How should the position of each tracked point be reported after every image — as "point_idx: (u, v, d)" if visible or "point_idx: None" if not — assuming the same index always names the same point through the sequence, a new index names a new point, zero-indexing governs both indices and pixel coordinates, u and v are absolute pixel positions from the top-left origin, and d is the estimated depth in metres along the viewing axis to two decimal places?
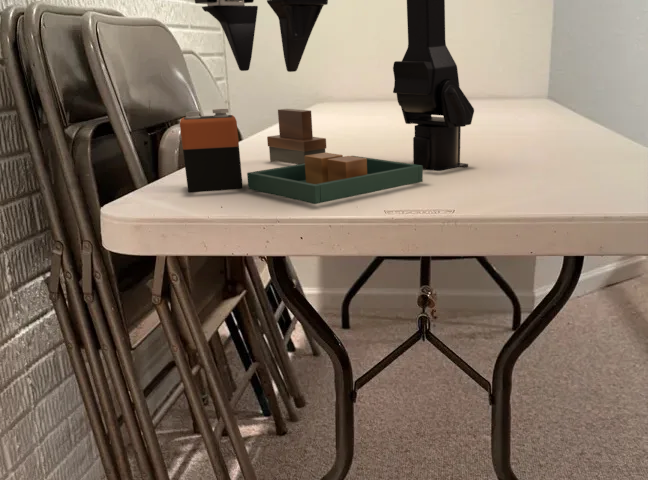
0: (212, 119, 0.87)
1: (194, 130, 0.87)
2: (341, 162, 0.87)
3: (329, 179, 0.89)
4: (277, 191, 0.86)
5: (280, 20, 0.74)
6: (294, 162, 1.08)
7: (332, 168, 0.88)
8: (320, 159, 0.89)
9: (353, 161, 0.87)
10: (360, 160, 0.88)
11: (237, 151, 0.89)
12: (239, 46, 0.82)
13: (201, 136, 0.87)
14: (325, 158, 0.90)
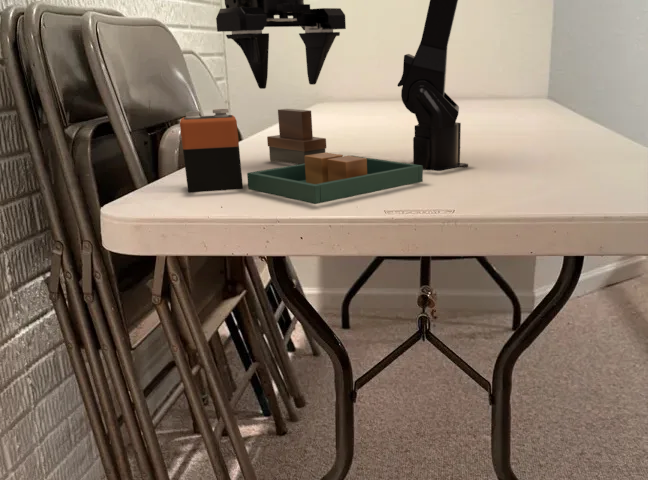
0: (212, 119, 0.87)
1: (194, 130, 0.87)
2: (341, 162, 0.87)
3: (329, 179, 0.89)
4: (277, 191, 0.86)
5: None
6: (294, 162, 1.08)
7: (332, 168, 0.88)
8: (320, 159, 0.89)
9: (353, 161, 0.87)
10: (360, 160, 0.88)
11: (237, 151, 0.89)
12: (309, 65, 1.04)
13: (201, 136, 0.87)
14: (325, 158, 0.90)
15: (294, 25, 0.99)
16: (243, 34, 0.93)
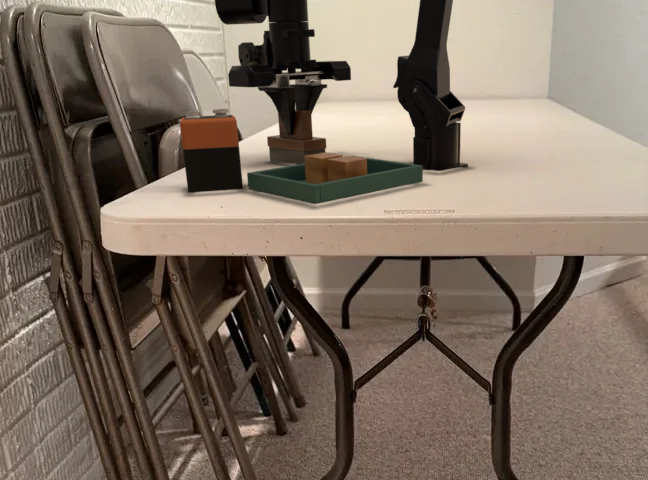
0: (212, 119, 0.87)
1: (194, 130, 0.87)
2: (341, 162, 0.87)
3: (329, 179, 0.89)
4: (277, 191, 0.86)
5: None
6: (294, 162, 1.08)
7: (332, 168, 0.88)
8: (320, 159, 0.89)
9: (353, 161, 0.87)
10: (360, 160, 0.88)
11: (237, 151, 0.89)
12: None
13: (201, 136, 0.87)
14: (325, 158, 0.90)
15: (302, 78, 1.07)
16: (272, 88, 1.03)
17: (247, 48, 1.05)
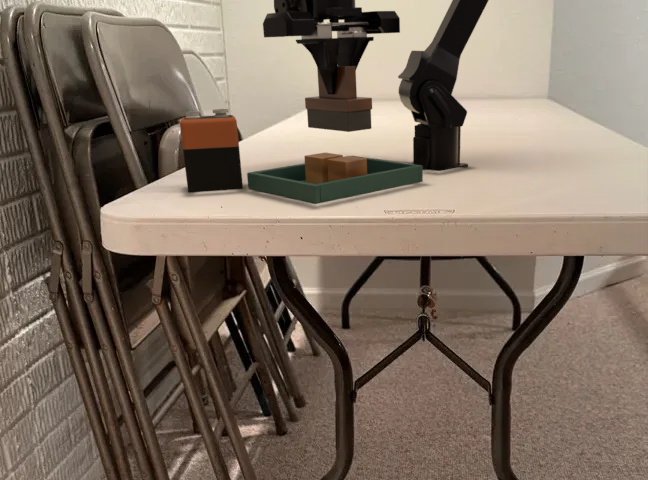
0: (212, 119, 0.87)
1: (194, 130, 0.87)
2: (341, 162, 0.87)
3: (329, 179, 0.89)
4: (277, 191, 0.86)
5: None
6: (336, 125, 0.96)
7: (332, 168, 0.88)
8: (320, 159, 0.89)
9: (353, 161, 0.87)
10: (360, 160, 0.88)
11: (237, 151, 0.89)
12: None
13: (201, 136, 0.87)
14: (325, 158, 0.90)
15: (345, 29, 0.94)
16: (313, 39, 0.91)
17: None
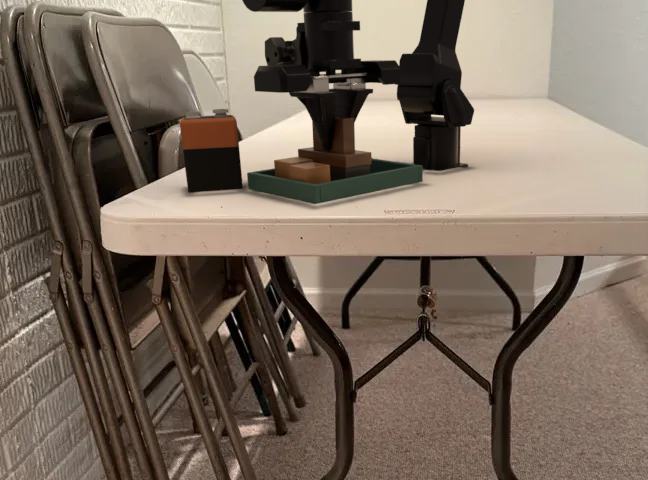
0: (212, 119, 0.87)
1: (194, 130, 0.87)
2: (302, 169, 0.83)
3: None
4: (277, 191, 0.86)
5: None
6: None
7: (293, 175, 0.84)
8: (311, 159, 0.88)
9: (314, 168, 0.83)
10: (322, 167, 0.84)
11: (237, 151, 0.89)
12: None
13: (201, 136, 0.87)
14: None
15: (342, 81, 0.87)
16: (308, 93, 0.83)
17: (276, 44, 0.86)
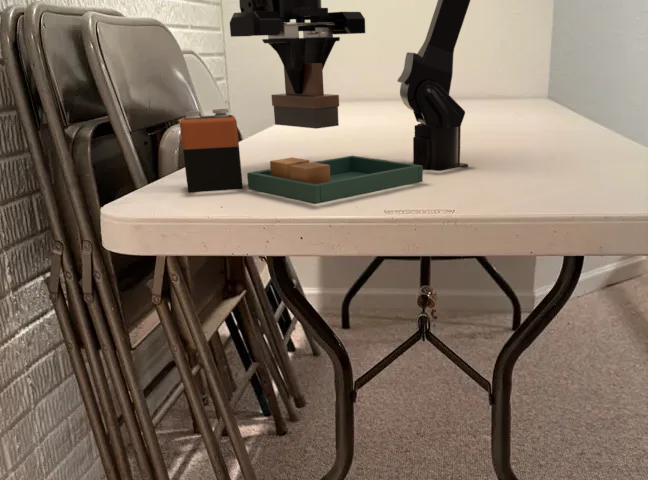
0: (212, 119, 0.87)
1: (194, 130, 0.87)
2: (302, 169, 0.83)
3: None
4: (277, 191, 0.86)
5: None
6: (303, 122, 0.96)
7: (293, 175, 0.84)
8: (307, 160, 0.88)
9: (314, 168, 0.83)
10: (322, 167, 0.84)
11: (237, 151, 0.89)
12: None
13: (201, 136, 0.87)
14: None
15: (311, 29, 0.95)
16: (280, 39, 0.91)
17: None
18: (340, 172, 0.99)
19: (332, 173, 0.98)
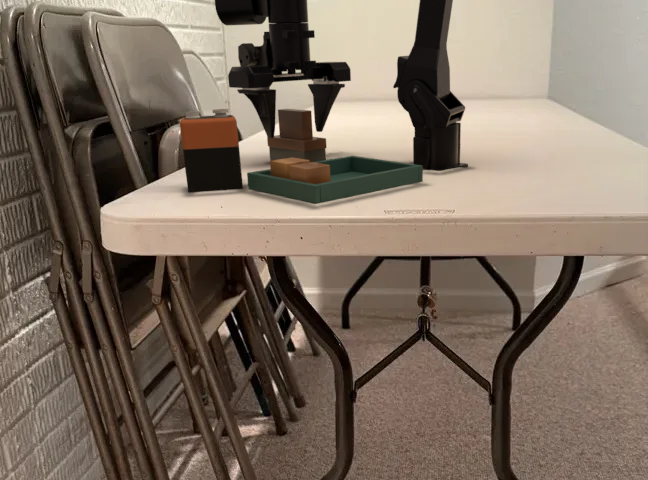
0: (212, 119, 0.87)
1: (194, 130, 0.87)
2: (302, 169, 0.83)
3: None
4: (277, 191, 0.86)
5: None
6: None
7: (293, 175, 0.84)
8: (307, 160, 0.88)
9: (314, 168, 0.83)
10: (322, 167, 0.84)
11: (237, 151, 0.89)
12: (316, 114, 1.11)
13: (201, 136, 0.87)
14: None
15: (301, 79, 1.07)
16: (252, 90, 1.01)
17: (247, 49, 1.05)
18: (340, 172, 0.99)
19: (332, 173, 0.98)
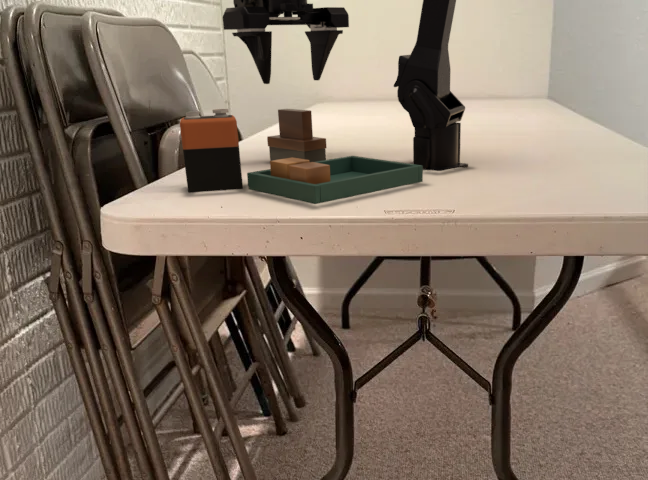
0: (212, 119, 0.87)
1: (194, 130, 0.87)
2: (302, 169, 0.83)
3: None
4: (277, 191, 0.86)
5: None
6: None
7: (293, 175, 0.84)
8: (307, 160, 0.88)
9: (314, 168, 0.83)
10: (322, 167, 0.84)
11: (237, 151, 0.89)
12: (313, 61, 1.08)
13: (201, 136, 0.87)
14: None
15: (298, 23, 1.04)
16: (247, 32, 0.98)
17: None
18: (340, 172, 0.99)
19: (332, 173, 0.98)
